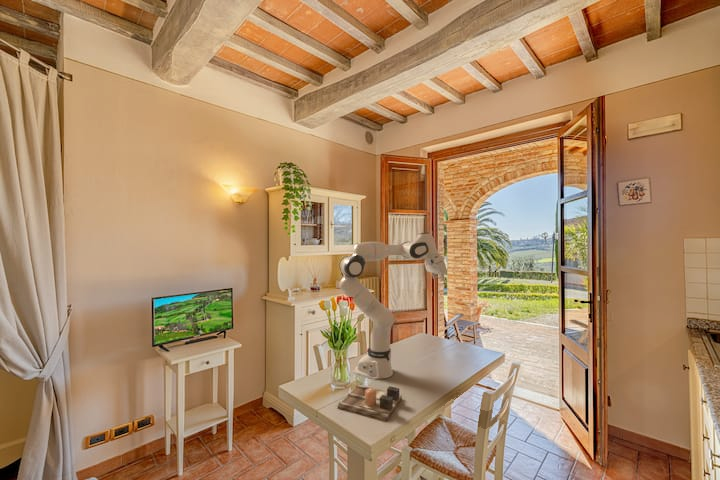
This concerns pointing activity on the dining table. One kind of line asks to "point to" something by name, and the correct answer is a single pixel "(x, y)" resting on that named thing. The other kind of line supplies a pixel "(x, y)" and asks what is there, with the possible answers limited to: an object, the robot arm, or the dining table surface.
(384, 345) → the robot arm
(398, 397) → the strip
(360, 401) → the lane board
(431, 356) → the dining table surface
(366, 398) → the orange rounded piece
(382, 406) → the strip
